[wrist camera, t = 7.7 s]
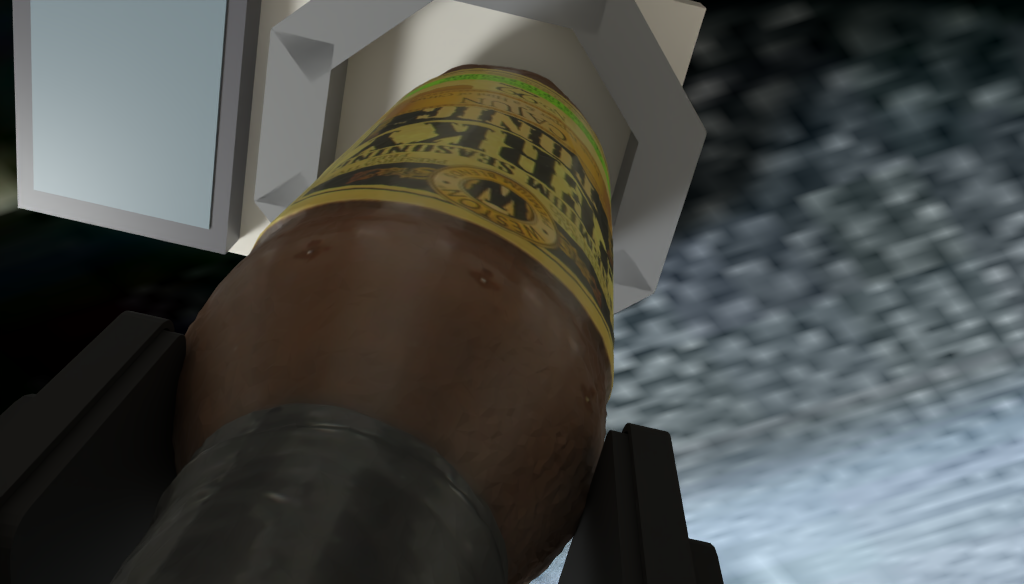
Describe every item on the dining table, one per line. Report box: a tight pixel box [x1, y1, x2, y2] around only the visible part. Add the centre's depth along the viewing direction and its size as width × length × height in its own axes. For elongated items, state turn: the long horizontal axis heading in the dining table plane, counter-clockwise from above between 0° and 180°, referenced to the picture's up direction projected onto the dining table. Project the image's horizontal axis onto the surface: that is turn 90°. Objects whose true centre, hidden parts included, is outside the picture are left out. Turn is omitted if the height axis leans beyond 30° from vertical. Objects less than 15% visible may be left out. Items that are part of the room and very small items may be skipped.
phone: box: [13, 0, 262, 254], centre depth 24 cm, size 6×9×1 cm, turn 167°
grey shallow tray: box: [228, 0, 707, 314], centre depth 24 cm, size 19×11×3 cm, turn 77°
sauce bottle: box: [110, 64, 614, 584], centre depth 15 cm, size 6×6×20 cm
